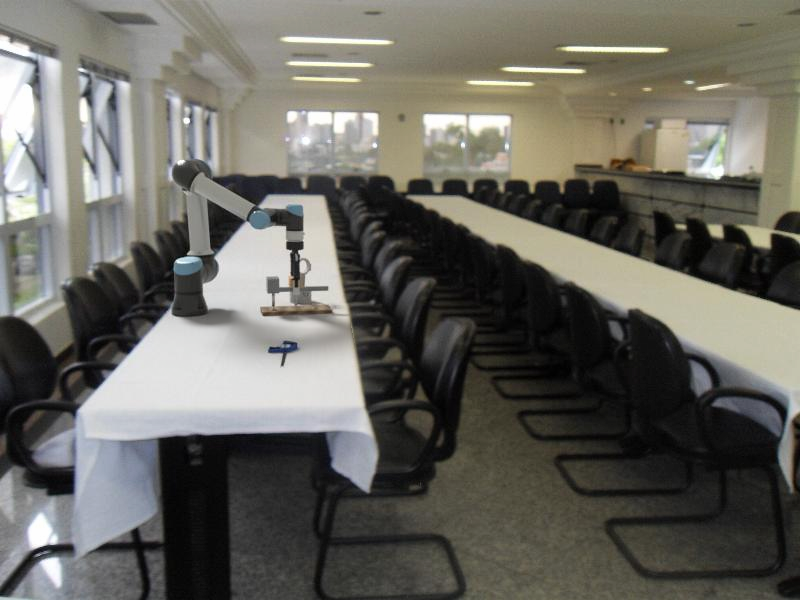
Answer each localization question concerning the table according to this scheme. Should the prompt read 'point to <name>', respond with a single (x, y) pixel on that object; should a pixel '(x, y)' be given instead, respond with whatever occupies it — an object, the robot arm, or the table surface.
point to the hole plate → (296, 310)
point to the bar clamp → (283, 349)
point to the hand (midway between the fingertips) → (295, 293)
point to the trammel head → (292, 287)
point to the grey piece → (286, 288)
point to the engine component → (304, 295)
